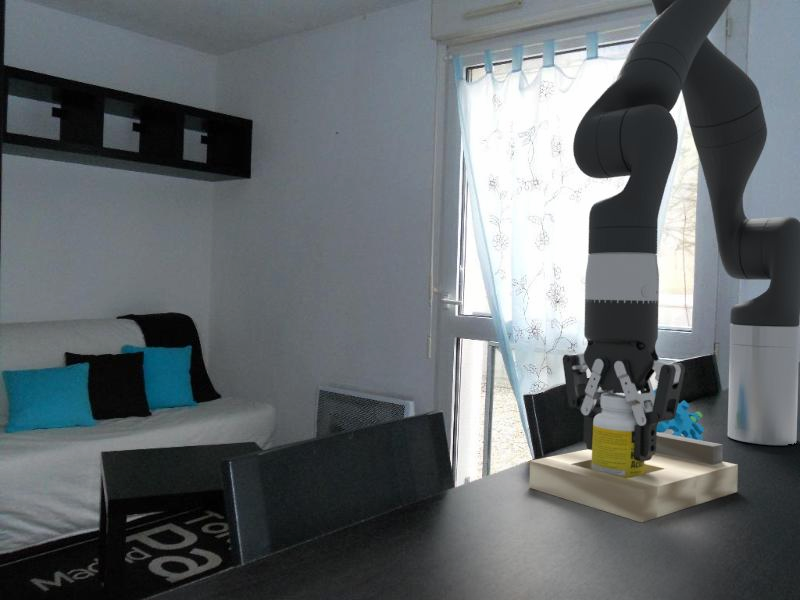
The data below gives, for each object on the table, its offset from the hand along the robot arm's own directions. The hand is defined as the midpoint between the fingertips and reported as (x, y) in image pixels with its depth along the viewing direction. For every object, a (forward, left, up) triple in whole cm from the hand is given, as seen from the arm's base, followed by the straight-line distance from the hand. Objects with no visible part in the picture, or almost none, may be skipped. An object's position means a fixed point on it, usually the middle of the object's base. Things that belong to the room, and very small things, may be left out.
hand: (618, 453), depth 75 cm
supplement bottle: (0, 0, -4) cm, 4 cm away
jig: (-3, 0, -4) cm, 5 cm away
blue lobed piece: (-31, -12, -5) cm, 34 cm away
